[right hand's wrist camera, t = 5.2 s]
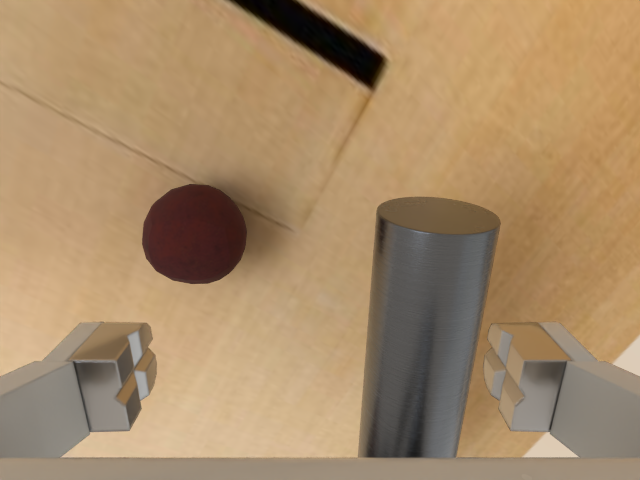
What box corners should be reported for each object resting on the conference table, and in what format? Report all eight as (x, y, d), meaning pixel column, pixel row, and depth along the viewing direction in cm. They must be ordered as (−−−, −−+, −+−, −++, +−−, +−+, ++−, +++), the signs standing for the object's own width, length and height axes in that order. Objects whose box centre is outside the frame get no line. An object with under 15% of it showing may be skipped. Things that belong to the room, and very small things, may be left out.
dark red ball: (255, 259, 37) (241, 300, 31) (165, 259, 37) (132, 300, 30) (250, 175, 34) (234, 200, 28) (153, 174, 34) (113, 200, 28)
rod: (370, 195, 25) (386, 233, 19) (475, 197, 25) (522, 236, 19) (347, 520, 35) (353, 608, 29) (422, 521, 35) (443, 609, 29)
